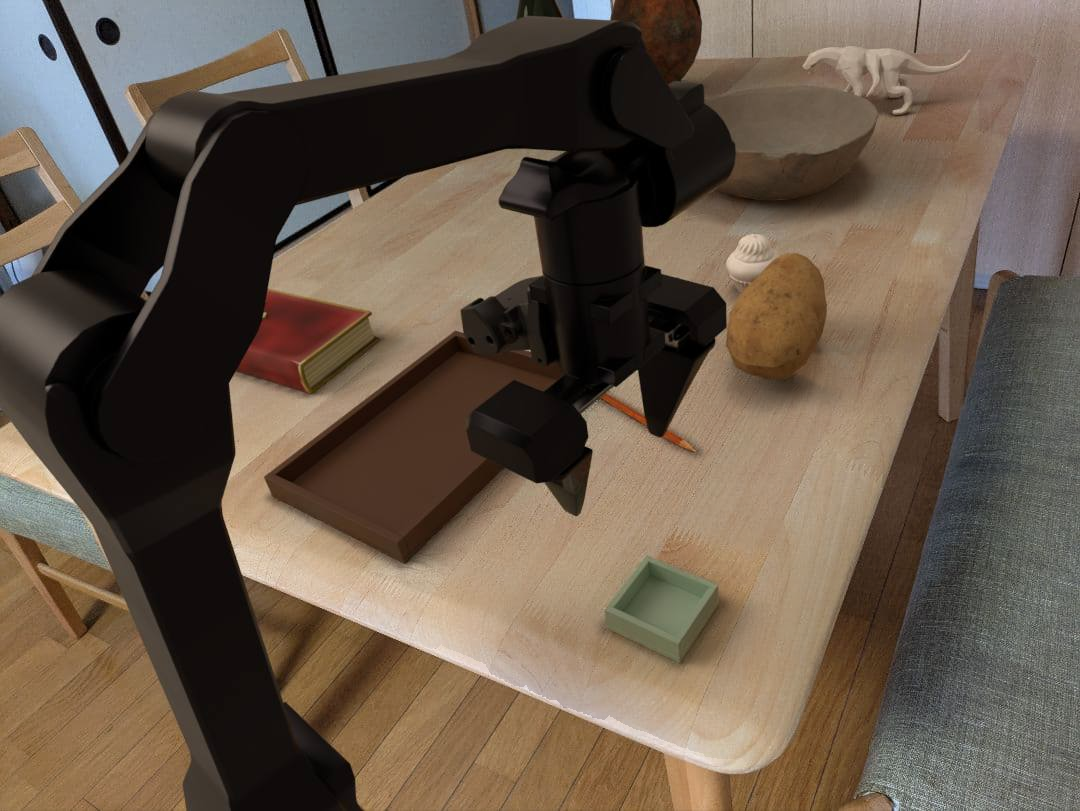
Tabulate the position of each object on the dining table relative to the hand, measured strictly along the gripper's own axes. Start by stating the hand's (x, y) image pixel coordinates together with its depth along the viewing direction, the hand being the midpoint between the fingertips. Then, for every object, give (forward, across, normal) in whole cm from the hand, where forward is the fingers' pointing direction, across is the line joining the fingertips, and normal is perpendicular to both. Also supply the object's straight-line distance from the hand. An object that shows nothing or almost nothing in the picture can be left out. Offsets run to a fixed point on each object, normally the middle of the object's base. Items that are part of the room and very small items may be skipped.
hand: (616, 471), depth 56 cm
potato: (+13, -33, -6) cm, 36 cm away
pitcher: (+13, -101, -66) cm, 121 cm away
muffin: (+13, -45, -15) cm, 49 cm away
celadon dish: (+13, 0, +3) cm, 13 cm away
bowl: (+13, -73, -29) cm, 80 cm away
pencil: (+13, -19, -14) cm, 27 cm away
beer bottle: (+13, -79, -75) cm, 110 cm away
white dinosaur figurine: (+13, -106, -28) cm, 111 cm away
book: (+13, -7, -57) cm, 59 cm away
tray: (+13, -5, -28) cm, 31 cm away
